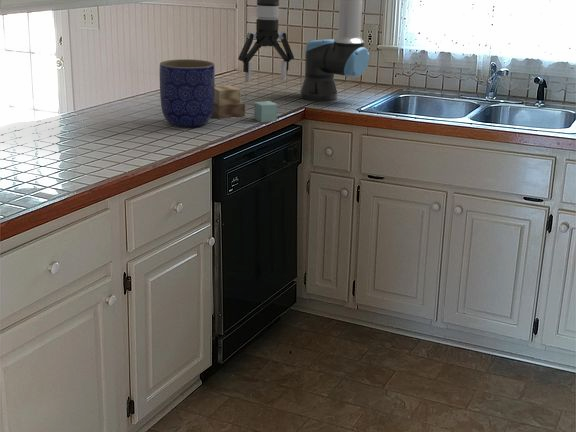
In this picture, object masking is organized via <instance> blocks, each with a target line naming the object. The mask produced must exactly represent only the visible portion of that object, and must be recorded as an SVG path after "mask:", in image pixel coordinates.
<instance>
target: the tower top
mask: <svg viewBox="0 0 576 432" xmlns="http://www.w3.org/2000/svg"><path fill="white" fill-rule="evenodd" d="M214 102H215V103H217V104H218V105H223V104H237V103H240V102H241V89H240V88H238V87H235V86H233V85H220V86H219V85H216V86H215V97H214Z"/></svg>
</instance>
